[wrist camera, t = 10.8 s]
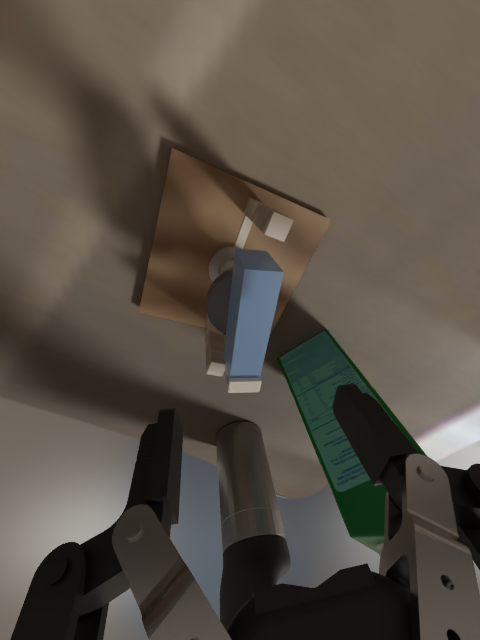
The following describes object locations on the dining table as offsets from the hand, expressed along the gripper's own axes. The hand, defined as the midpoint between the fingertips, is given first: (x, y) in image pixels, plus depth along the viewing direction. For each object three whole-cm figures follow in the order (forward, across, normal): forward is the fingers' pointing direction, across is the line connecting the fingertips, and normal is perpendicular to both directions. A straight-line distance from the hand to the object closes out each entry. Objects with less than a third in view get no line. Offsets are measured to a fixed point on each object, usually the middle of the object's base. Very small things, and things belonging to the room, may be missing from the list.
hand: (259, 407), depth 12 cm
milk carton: (+21, -14, +17) cm, 31 cm away
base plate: (+21, -1, 0) cm, 21 cm away
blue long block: (+12, -1, 0) cm, 12 cm away
